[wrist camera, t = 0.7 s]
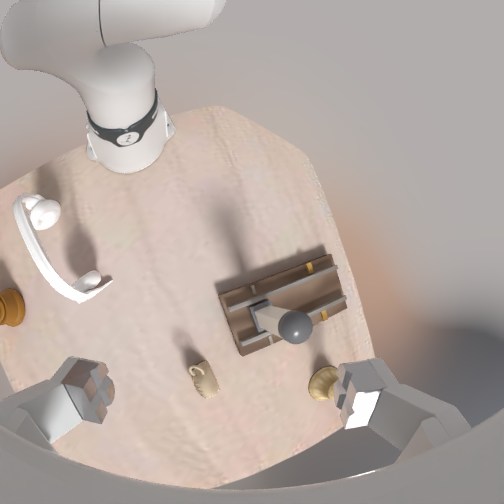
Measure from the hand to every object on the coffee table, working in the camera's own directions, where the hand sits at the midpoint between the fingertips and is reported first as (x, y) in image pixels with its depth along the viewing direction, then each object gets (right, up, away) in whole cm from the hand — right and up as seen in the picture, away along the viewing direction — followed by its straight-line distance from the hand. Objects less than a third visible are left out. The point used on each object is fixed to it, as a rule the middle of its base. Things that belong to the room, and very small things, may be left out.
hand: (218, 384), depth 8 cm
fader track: (+8, -6, +44) cm, 45 cm away
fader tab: (+3, -7, +40) cm, 41 cm away
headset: (-32, +4, +34) cm, 47 cm away
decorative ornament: (-8, -19, +39) cm, 44 cm away
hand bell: (+17, -25, +45) cm, 54 cm away
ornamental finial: (-46, -7, +29) cm, 55 cm away
